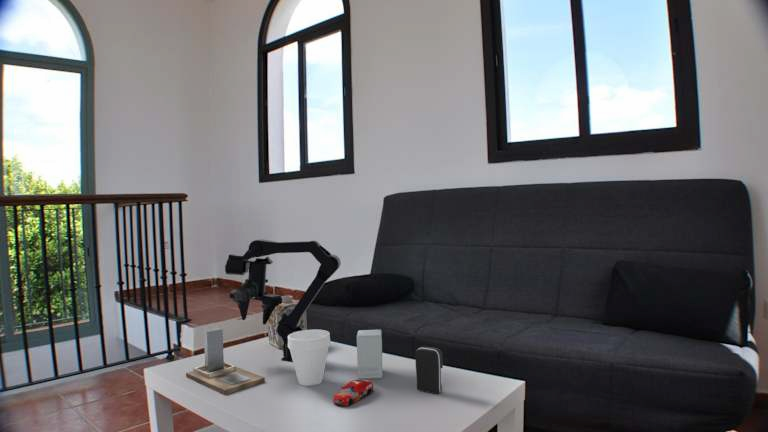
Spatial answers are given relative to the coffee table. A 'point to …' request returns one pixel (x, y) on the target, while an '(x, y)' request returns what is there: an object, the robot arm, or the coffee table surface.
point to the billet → (213, 349)
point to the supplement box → (369, 354)
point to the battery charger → (429, 369)
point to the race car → (353, 392)
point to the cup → (309, 354)
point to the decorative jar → (277, 316)
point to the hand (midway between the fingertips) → (253, 322)
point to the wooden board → (225, 378)
